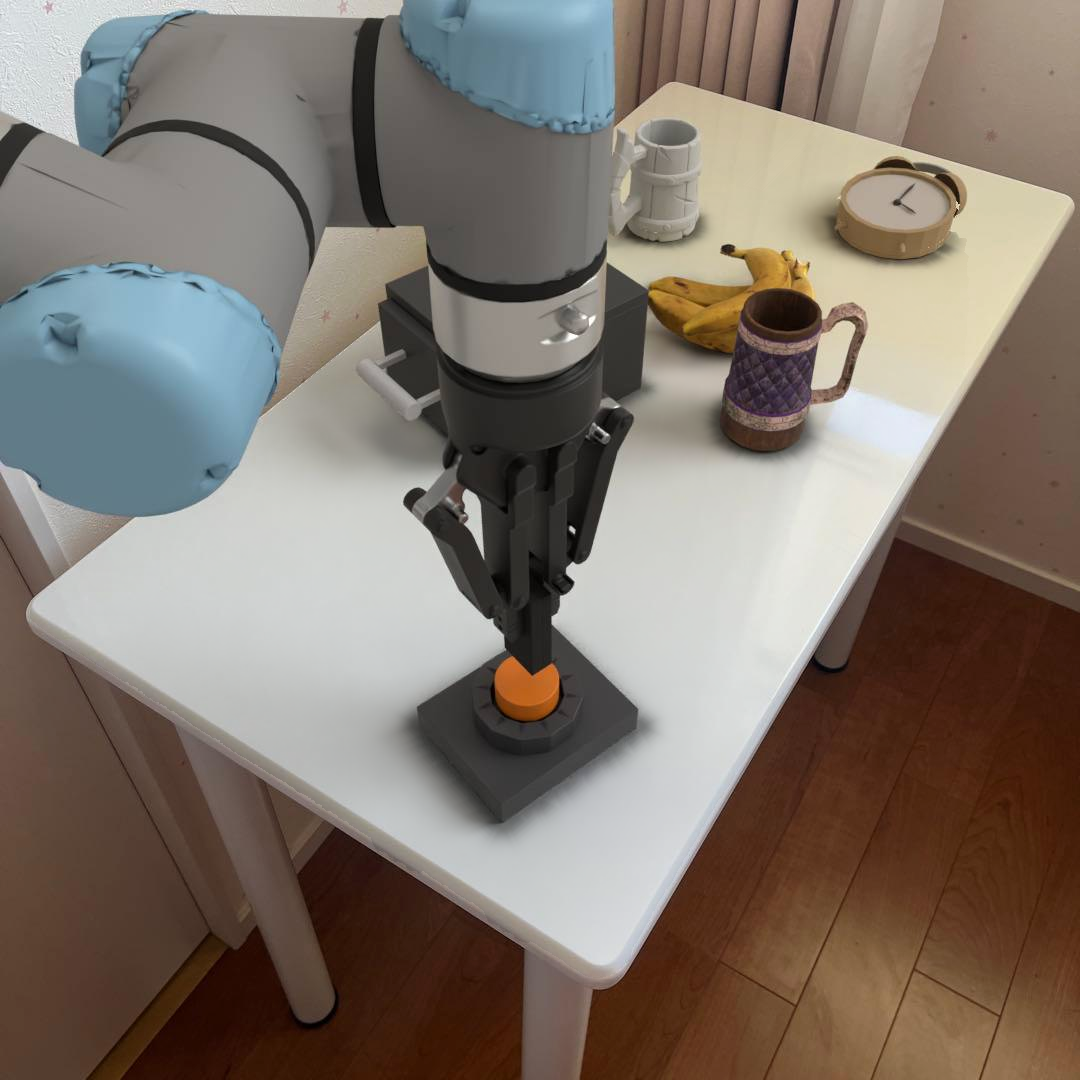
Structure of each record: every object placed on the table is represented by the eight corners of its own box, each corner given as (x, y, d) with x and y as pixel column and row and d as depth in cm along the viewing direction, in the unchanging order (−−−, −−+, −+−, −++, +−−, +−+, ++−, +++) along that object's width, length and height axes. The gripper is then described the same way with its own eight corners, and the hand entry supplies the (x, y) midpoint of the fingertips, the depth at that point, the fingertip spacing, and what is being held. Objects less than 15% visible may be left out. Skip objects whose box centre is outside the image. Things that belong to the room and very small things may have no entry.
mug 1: (714, 226, 113) (728, 113, 104) (626, 266, 108) (633, 151, 99) (664, 195, 117) (673, 84, 108) (577, 233, 112) (579, 120, 103)
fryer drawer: (431, 484, 86) (423, 405, 80) (344, 401, 93) (331, 323, 87) (615, 387, 94) (620, 308, 88) (523, 317, 101) (521, 240, 95)
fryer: (493, 467, 89) (488, 368, 81) (396, 381, 96) (384, 283, 89) (641, 387, 95) (649, 290, 88) (540, 313, 103) (540, 217, 96)
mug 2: (719, 452, 90) (739, 332, 81) (716, 396, 95) (734, 276, 86) (847, 458, 89) (880, 337, 80) (837, 401, 94) (867, 281, 85)
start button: (521, 733, 67) (520, 717, 66) (482, 690, 70) (481, 674, 68) (571, 699, 69) (572, 682, 68) (532, 659, 71) (532, 642, 70)
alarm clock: (818, 210, 109) (891, 128, 115) (813, 248, 113) (885, 167, 119) (923, 248, 105) (994, 161, 111) (915, 287, 109) (984, 201, 115)
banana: (844, 289, 105) (856, 236, 101) (755, 396, 95) (765, 342, 90) (702, 240, 111) (708, 188, 107) (603, 336, 100) (606, 282, 96)
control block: (502, 823, 67) (500, 789, 64) (419, 725, 72) (413, 690, 69) (636, 728, 72) (640, 692, 69) (550, 642, 77) (550, 605, 74)
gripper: (448, 441, 44) (477, 756, 62) (684, 319, 50) (650, 640, 67) (349, 352, 48) (402, 671, 66) (578, 247, 54) (571, 568, 71)
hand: (528, 655), depth 66 cm, fingers closed
